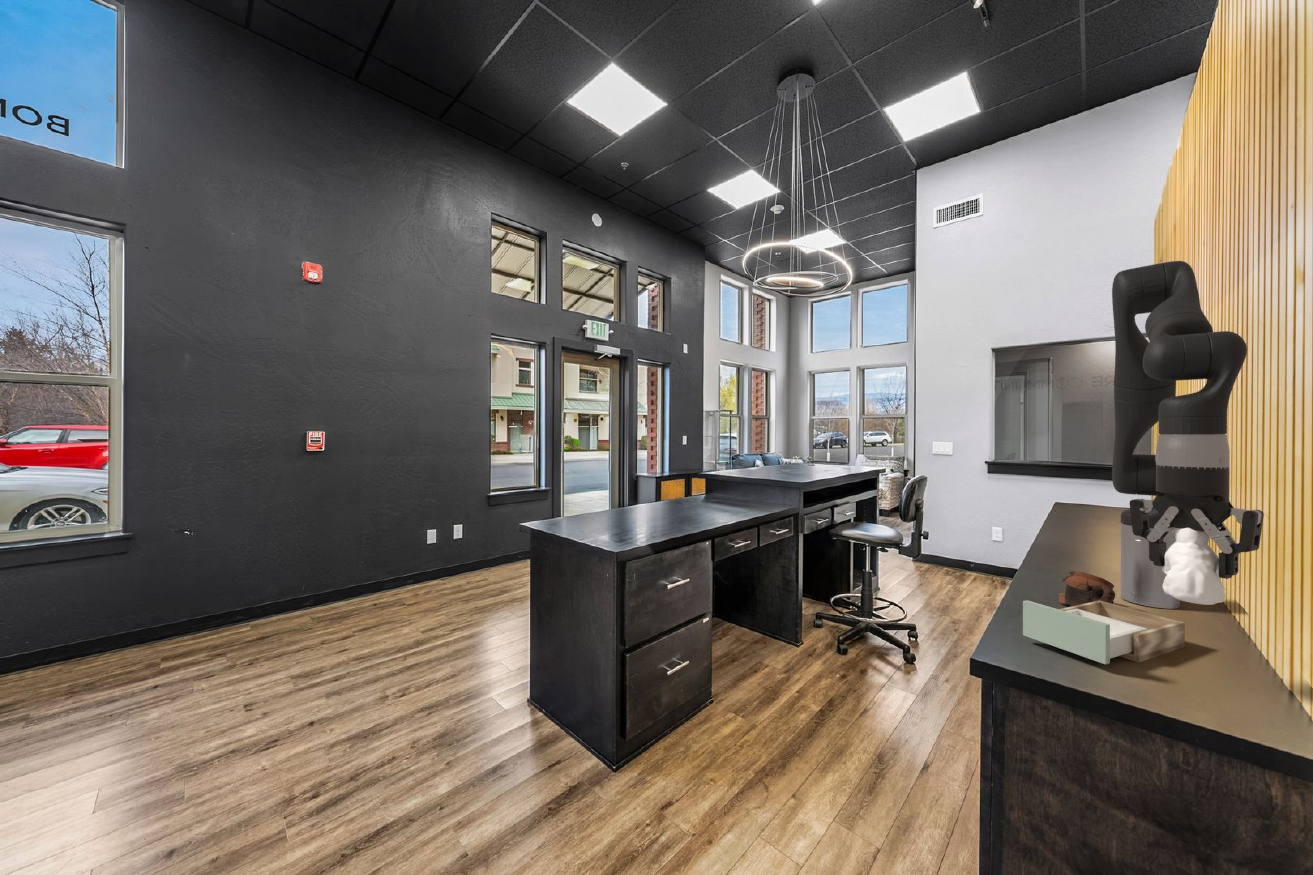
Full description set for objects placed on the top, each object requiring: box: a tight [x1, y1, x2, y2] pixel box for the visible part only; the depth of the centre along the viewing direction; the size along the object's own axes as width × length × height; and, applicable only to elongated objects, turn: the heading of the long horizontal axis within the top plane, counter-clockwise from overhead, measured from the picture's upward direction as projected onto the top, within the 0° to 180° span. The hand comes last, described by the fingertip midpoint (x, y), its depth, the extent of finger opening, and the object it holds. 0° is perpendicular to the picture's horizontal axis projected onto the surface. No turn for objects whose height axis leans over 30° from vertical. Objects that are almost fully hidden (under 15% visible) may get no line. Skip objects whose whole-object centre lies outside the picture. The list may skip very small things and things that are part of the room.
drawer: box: [1022, 599, 1147, 665], centre depth 83 cm, size 14×12×6 cm
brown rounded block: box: [1058, 570, 1116, 607], centre depth 103 cm, size 12×9×8 cm
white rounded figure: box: [1162, 528, 1226, 606], centre depth 73 cm, size 6×8×12 cm
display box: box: [1058, 601, 1186, 664], centre depth 87 cm, size 15×12×4 cm
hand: (1190, 570), depth 73 cm, fingers closed on white rounded figure, 6 cm apart
